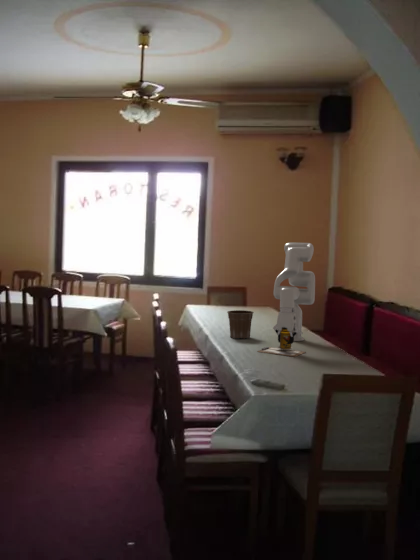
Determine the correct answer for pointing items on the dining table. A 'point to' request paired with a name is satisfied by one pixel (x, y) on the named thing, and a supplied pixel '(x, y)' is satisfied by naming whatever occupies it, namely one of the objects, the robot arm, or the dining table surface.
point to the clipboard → (281, 351)
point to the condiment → (285, 339)
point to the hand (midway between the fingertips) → (285, 342)
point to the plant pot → (240, 323)
